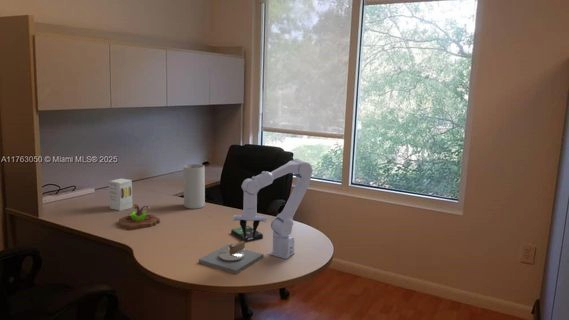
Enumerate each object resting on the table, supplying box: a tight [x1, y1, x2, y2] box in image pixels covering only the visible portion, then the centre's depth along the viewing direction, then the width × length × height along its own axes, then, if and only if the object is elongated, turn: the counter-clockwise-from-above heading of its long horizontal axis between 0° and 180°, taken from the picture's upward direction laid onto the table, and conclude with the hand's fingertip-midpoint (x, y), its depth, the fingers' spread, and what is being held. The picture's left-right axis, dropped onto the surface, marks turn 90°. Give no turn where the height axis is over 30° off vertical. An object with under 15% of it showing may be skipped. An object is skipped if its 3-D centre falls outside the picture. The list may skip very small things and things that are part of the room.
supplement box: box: [108, 177, 133, 212], centre depth 259 cm, size 10×9×17 cm
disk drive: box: [230, 225, 264, 243], centre depth 221 cm, size 10×3×15 cm
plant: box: [118, 203, 161, 231], centre depth 234 cm, size 20×20×11 cm
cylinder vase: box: [182, 163, 206, 210], centre depth 266 cm, size 12×12×25 cm
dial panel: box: [198, 244, 264, 275], centre depth 191 cm, size 20×20×2 cm
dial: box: [219, 240, 246, 262], centre depth 192 cm, size 14×11×5 cm
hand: (249, 236), depth 191 cm, fingers open, 3 cm apart
